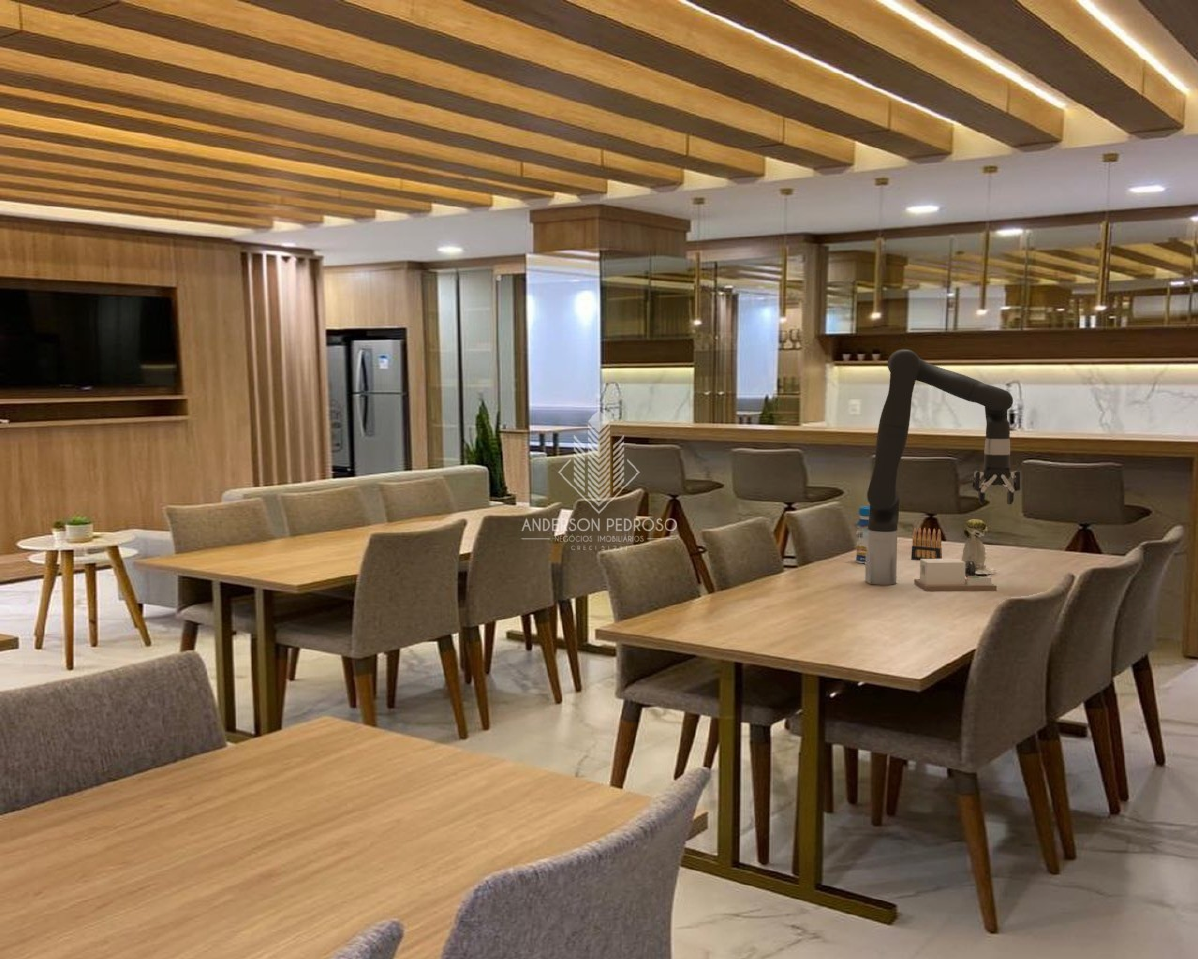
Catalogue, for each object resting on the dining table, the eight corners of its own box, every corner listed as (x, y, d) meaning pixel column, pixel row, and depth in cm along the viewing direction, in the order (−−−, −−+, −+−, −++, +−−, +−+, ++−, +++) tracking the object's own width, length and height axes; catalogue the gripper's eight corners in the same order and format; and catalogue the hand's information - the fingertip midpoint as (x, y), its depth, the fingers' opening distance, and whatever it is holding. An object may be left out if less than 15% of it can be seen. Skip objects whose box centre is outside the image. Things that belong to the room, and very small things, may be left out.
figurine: (948, 573, 356) (949, 519, 354) (965, 568, 365) (967, 515, 363) (982, 577, 347) (983, 522, 346) (999, 572, 357) (1000, 518, 355)
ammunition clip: (911, 559, 383) (911, 527, 382) (912, 559, 385) (913, 526, 383) (940, 562, 377) (941, 529, 376) (941, 561, 378) (942, 528, 377)
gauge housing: (925, 591, 326) (926, 564, 325) (914, 583, 338) (914, 557, 337) (996, 590, 326) (997, 563, 325) (982, 583, 338) (983, 557, 337)
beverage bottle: (880, 564, 373) (881, 508, 371) (856, 564, 375) (857, 508, 373) (879, 560, 381) (880, 506, 379) (855, 560, 383) (856, 505, 381)
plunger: (934, 582, 326) (935, 564, 326) (926, 577, 335) (927, 559, 334) (978, 581, 326) (978, 563, 326) (969, 576, 334) (969, 559, 334)
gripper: (978, 454, 326) (977, 505, 328) (1024, 453, 326) (1023, 505, 328) (970, 452, 334) (969, 503, 335) (1015, 452, 334) (1013, 502, 335)
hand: (995, 504), depth 331 cm, fingers open, 8 cm apart
